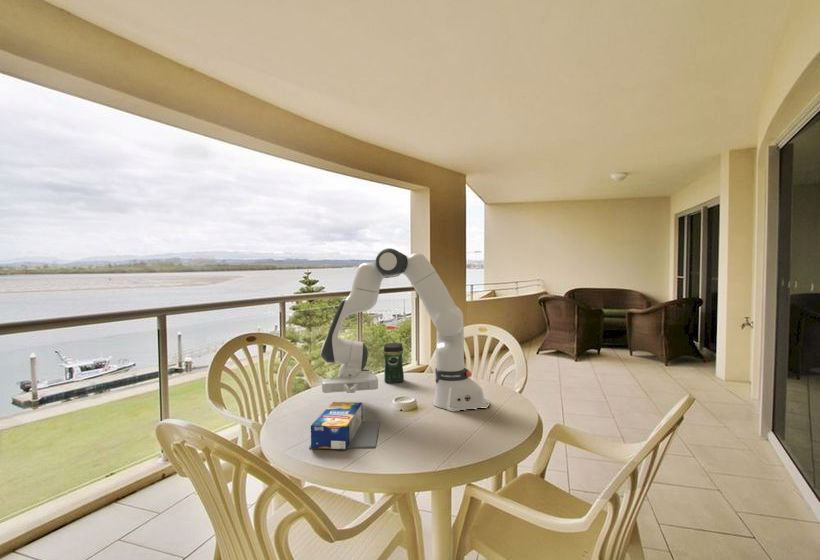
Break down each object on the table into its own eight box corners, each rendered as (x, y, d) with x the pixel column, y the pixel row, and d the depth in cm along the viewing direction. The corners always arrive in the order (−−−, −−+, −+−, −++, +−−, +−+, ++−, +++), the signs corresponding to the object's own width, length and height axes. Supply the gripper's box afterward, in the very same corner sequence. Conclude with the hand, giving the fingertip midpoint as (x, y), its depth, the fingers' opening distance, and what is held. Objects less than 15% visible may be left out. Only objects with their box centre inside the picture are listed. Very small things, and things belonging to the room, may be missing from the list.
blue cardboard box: (363, 421, 136) (346, 449, 114) (333, 421, 137) (310, 448, 115) (362, 402, 136) (346, 426, 114) (332, 402, 137) (310, 425, 115)
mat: (379, 422, 135) (379, 421, 135) (375, 447, 116) (375, 446, 116) (323, 423, 135) (323, 422, 135) (309, 448, 116) (309, 447, 116)
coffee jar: (404, 378, 190) (403, 341, 189) (403, 383, 182) (403, 344, 181) (384, 378, 190) (383, 341, 189) (383, 383, 182) (382, 344, 181)
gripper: (322, 373, 145) (320, 383, 132) (375, 369, 149) (379, 379, 135) (322, 389, 145) (320, 401, 132) (376, 385, 149) (379, 397, 135)
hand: (350, 390), depth 134 cm, fingers closed
